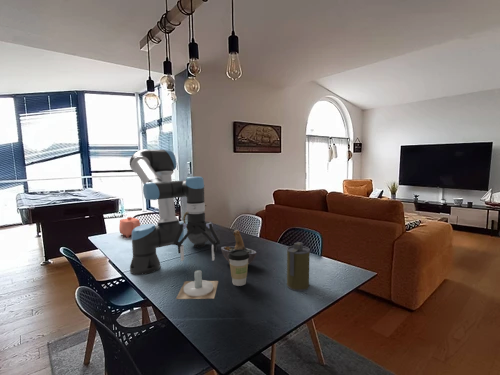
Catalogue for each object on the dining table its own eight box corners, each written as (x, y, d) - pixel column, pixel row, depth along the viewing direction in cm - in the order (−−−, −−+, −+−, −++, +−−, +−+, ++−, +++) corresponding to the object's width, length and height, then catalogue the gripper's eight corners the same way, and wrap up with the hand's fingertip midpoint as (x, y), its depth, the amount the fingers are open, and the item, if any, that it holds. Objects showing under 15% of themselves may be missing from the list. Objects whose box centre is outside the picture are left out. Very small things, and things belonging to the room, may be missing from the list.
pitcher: (213, 245, 180) (212, 201, 177) (188, 251, 168) (186, 205, 164) (205, 241, 188) (204, 199, 185) (180, 247, 176) (178, 202, 172)
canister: (293, 278, 129) (294, 238, 127) (313, 284, 122) (314, 242, 120) (281, 286, 121) (281, 244, 118) (302, 294, 114) (302, 249, 112)
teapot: (116, 233, 209) (115, 216, 208) (132, 230, 218) (131, 213, 217) (127, 239, 194) (126, 220, 193) (144, 235, 203) (143, 217, 202)
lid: (180, 297, 112) (179, 278, 111) (187, 282, 125) (186, 265, 124) (211, 296, 112) (210, 278, 111) (214, 282, 125) (214, 265, 124)
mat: (175, 299, 110) (175, 298, 110) (184, 282, 126) (184, 281, 126) (214, 299, 110) (214, 298, 110) (218, 281, 126) (218, 280, 126)
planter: (220, 262, 150) (219, 227, 148) (248, 258, 156) (247, 224, 154) (227, 272, 136) (227, 234, 134) (257, 267, 142) (257, 231, 140)
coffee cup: (247, 289, 119) (246, 257, 117) (226, 287, 120) (225, 255, 119) (251, 279, 128) (251, 249, 126) (231, 277, 130) (231, 248, 128)
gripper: (164, 214, 111) (167, 263, 113) (224, 213, 111) (225, 262, 113) (169, 211, 118) (172, 257, 120) (225, 210, 118) (226, 256, 120)
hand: (197, 259), depth 116 cm, fingers open, 13 cm apart
